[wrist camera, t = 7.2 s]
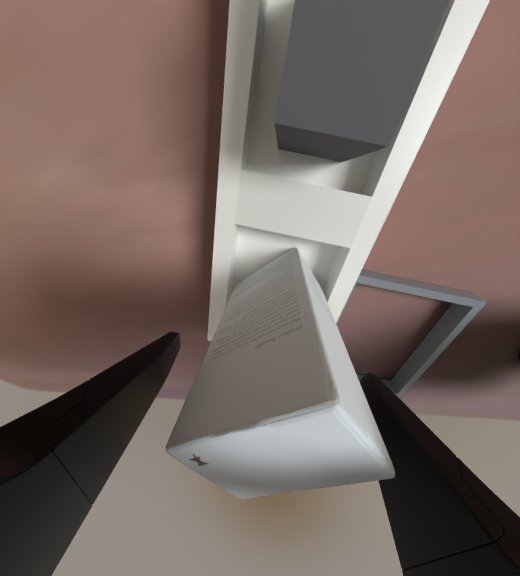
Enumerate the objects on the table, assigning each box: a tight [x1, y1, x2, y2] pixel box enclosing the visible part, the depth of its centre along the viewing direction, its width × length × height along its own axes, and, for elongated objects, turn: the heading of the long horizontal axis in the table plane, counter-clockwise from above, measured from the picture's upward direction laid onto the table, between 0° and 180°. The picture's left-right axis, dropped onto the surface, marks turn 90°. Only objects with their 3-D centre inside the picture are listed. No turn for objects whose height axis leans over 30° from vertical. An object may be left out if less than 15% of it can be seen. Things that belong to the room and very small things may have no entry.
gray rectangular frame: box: [336, 270, 487, 399], centre depth 18 cm, size 10×12×2 cm
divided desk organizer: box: [207, 0, 490, 341], centre depth 13 cm, size 10×24×2 cm, turn 170°
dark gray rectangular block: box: [275, 0, 449, 162], centre depth 8 cm, size 4×6×6 cm, turn 170°
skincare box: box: [166, 247, 395, 499], centre depth 11 cm, size 6×4×12 cm
